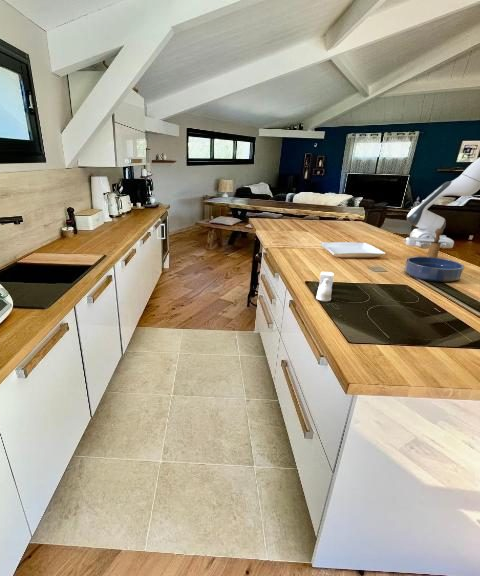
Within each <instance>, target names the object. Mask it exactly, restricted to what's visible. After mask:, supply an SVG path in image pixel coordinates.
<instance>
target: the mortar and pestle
mask: <svg viewBox="0 0 480 576" xmlns="http://www.w3.org/2000/svg"><path fill="white" fill-rule="evenodd" d="M435 233H436V237H435V238H434V242H431V244H430V248H428V253H427V255H426V257H434V258H438V256H439V252H440V245H441V243H439V242H438V241H439V240H440V235H443V233H444V230H442V229H436V231H435Z"/></svg>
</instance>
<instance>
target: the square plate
mask: <svg viewBox="0 0 480 576" xmlns="http://www.w3.org/2000/svg"><path fill="white" fill-rule="evenodd" d="M319 244H320V246H321V247H322V248H323V249H324V250H326V251H327V252H329V253H330V254H331V255H332V256H334V257H335V258H336V257H337V258H343V259H344V258H345V259H346V258H347V259H348V258H349V259H350V258H352V259H353V258H354V259H355V258H356V259H358V258H360V259H361V258H362V259H363V258H364V259H368V258H371V259H372V258H380V257H383V256H384V255H386V254H387V253H386V252H385V251H383V250H381V249H379V248H378V247H376V246H373V245H371V244H369V243H367V242H355V241H354V242H353V241H332V242H319Z"/></svg>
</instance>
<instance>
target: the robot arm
mask: <svg viewBox="0 0 480 576" xmlns="http://www.w3.org/2000/svg"><path fill="white" fill-rule="evenodd" d="M479 190H480V157H477V158H476V159H475V160H474V161H473V162H472V163H470V165H468V166H467V167H466V168H465V170H463V172H462V173H461V174H460V175H459V176H458V177H456V178H454V179H453V180H450V181H445V182H444V183H442V184H441V185H440V186H438V187H437V188H436V189H435V190H433V192H431V193H430V194H429V195H428V196H427V197H426V198H425V199H423V200H422V201H421V202H420V203H419V204H418V205H416V206H415V207H413V208H412V209H411V210H410V211H409V212H408V214H406V221H407V223H408V224H409V225H410V226H414V227H416V228H414V229H413V230H411V232H410V234H409V236H407V237H406V238H403V242H405V245H406V246H408V247H418V248H420V249H421V250H422V249H423V250H428V249H429V248H430V244H431V242H434V238H435V237H436V233H435V231H436V229H442V230H443V231H444V230H445V229H446V225H447V222H446V221H447V220H446V219H445V217H443V216H440V215H438V214H436V213H434V212H432V211H430V210H428V209H429V208H430V207H431V206H433V205H434V204H435V203H436V202H437V201H438V200H440V199H441V198H443V197H446V196H456V197H467V196H471V195H474V194H476V193H477V192H478V191H479ZM438 242H439V243H441V245H440V248H441V249H453V247H454V245H455V241H454V240H453V239H452V238H450V237H447V235H445V234H441V235H440V240H439V241H438ZM440 248H439V249H440Z"/></svg>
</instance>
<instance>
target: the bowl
mask: <svg viewBox="0 0 480 576" xmlns="http://www.w3.org/2000/svg"><path fill="white" fill-rule="evenodd" d="M464 269H465V265H463V264H462V263H460V262H458V261H455V260H451V259H446V258H440V257H437V258H434V257H427V256H411V257H408V258H406V261H405V265H404V269H403V270H404V272H405V273H406V274H408V275H409V276H411V277H414V278H416V279H419V280H424V281H429V282H439V283H450V282H455V281H459V280H460V279H462V276H463V273H464Z"/></svg>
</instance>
